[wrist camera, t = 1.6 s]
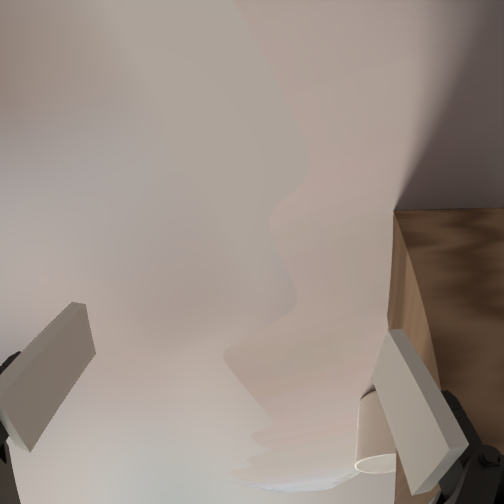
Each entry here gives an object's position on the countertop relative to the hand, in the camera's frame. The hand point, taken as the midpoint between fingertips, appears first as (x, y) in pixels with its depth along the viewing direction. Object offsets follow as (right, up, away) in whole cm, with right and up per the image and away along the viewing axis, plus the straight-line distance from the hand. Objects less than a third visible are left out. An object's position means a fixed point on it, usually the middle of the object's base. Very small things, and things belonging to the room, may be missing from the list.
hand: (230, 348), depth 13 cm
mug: (+22, -17, +26) cm, 39 cm away
